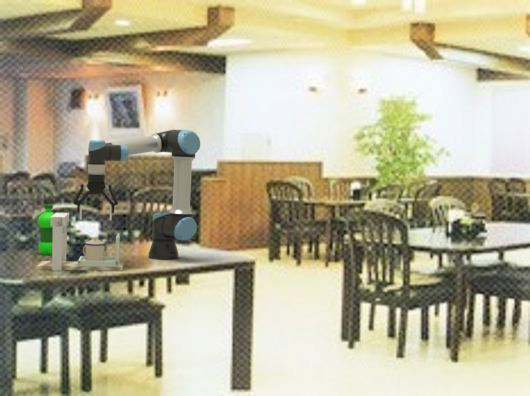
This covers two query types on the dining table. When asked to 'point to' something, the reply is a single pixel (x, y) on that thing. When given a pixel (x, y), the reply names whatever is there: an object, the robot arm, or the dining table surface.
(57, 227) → the press frame
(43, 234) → the plastic bottle
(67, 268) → the press track
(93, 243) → the teacup with lid
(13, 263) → the dining table surface
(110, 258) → the press carriage
